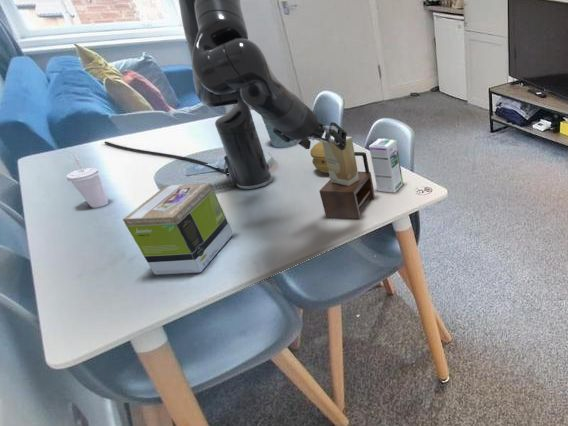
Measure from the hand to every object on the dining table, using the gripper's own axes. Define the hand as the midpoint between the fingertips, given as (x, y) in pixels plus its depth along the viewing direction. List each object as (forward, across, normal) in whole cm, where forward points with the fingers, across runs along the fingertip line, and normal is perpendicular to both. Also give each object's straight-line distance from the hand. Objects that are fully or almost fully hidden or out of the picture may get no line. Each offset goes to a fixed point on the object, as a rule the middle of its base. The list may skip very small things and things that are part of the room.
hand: (326, 146), depth 101 cm
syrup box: (+27, -7, +2) cm, 28 cm away
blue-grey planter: (+50, +43, -21) cm, 69 cm away
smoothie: (+16, +70, +13) cm, 73 cm away
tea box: (+2, +27, +27) cm, 38 cm away
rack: (+18, 0, +10) cm, 21 cm away
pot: (+35, +15, -6) cm, 38 cm away
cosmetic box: (+13, 0, +5) cm, 14 cm away
